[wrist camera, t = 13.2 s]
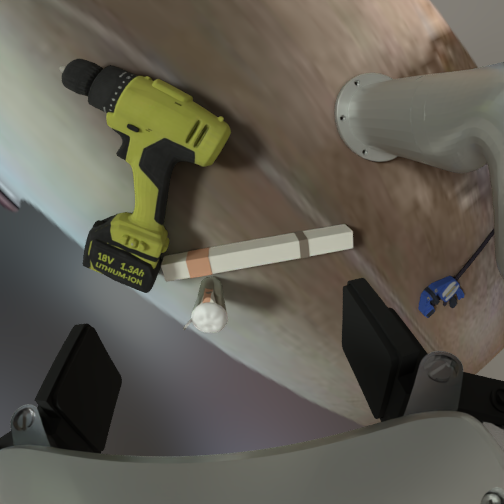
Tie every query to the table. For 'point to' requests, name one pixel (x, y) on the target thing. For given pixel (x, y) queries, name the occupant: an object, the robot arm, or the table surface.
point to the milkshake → (209, 307)
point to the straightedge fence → (256, 252)
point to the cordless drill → (143, 162)
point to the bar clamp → (446, 288)
